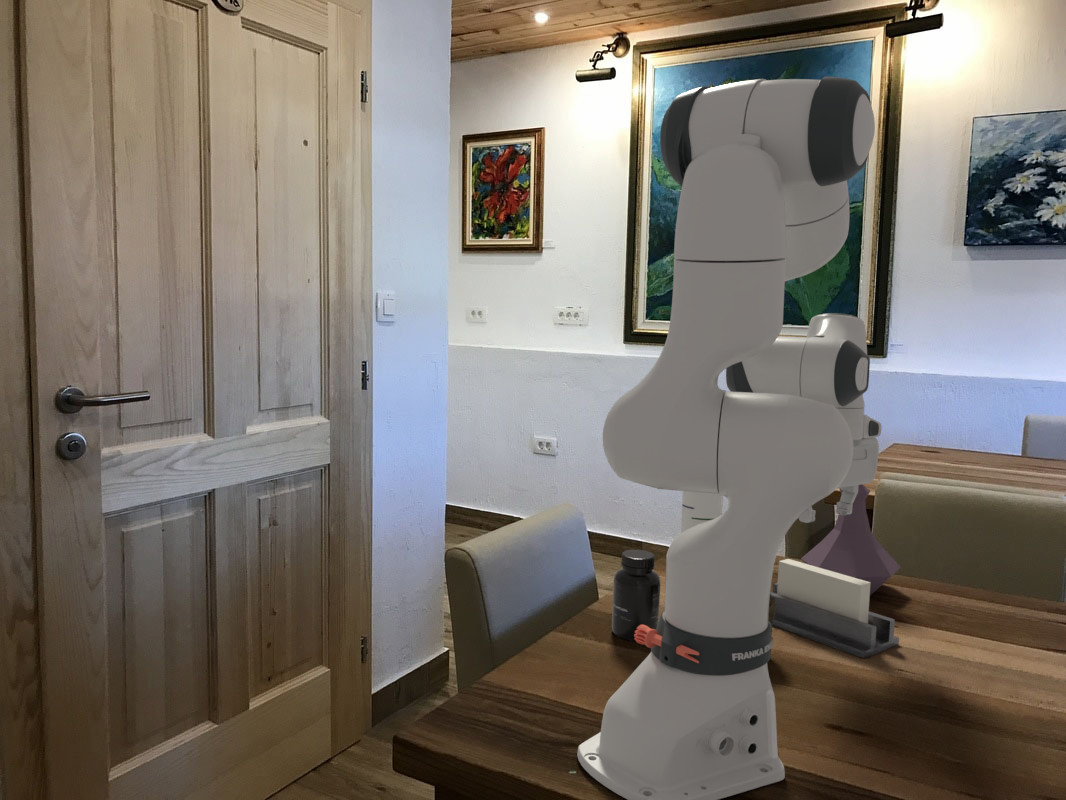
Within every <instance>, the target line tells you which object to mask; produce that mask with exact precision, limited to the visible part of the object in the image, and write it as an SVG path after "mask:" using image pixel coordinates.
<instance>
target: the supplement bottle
mask: <svg viewBox="0 0 1066 800" xmlns="http://www.w3.org/2000/svg"><path fill="white" fill-rule="evenodd" d="M655 557H656V556H655V554H654V553H652V552H650V551H648V550H642V549H629V550H624V551H623V552H622V553H621V560H620V566H621V568H620V569H618V570H617V571H616V572H615V574H614V577H613V588H612V589H613V592H612V593H613V594H612V608H611V609H612V612H611V614H612V615H611V630H612V632H613V634H614V635H615V636H616V637H618V638H621V639H623V640H627V641H633V642H636V640H635V639H634V638H636V637H634V635H635V634H636V633H635V631H636V630H638V629H637V627H638V626H640V625H646V626H648V627H649V628H650V629H655V630H656V628H657V625H658V622H659V619H660V602H661V601H660V599H661V597H660V596H661V578H660V575H659V574H658V573H657V572H656V571H655V570H654V569H655V566H656V564H655V559H656V558H655Z"/></svg>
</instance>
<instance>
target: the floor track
mask: <svg viewBox="0 0 1066 800" xmlns="http://www.w3.org/2000/svg"><path fill="white" fill-rule="evenodd" d="M777 586H778V582H775V583H773V584H772V591H770V593H771V595H772V598H773V597H775V603H776V601H777V604H776V609H775V615H774V620H773V626H772V627H776V628H779V629H782V630H785V631H787V632H790V633H793V634H795V635H798V636H800V637H804V638H806V639H809V640H812V641H814V642H817V643H820V644H823V645H826V646H828V647H831V648H834V649H836V650H839V651H843V653H844V652H845V653H848V654H850V655H853V656H856V657H859V658H861V659H863V660H864V659H867V658H869V657H871V656H874V655H876V654H878V653H881V652H883V651H886V650H887V649H890V648H892V647H895V646H897V645H899V644H900V643H899V641H900V637H899V636H897V635H894V634H895V623H896V621H895V619H894V618H891V617H887V616H885V615H882V614H879V613H875V612H873V611H870V610H869V613H868V624H867V623H864V622H861V621H858V620H855V619H852V618H849V617H846V616H843V615H840V614H837V613H834V612H831V611H827V610H824V609H821V608H818V607H815V606H812V605H809V604H806V603H803V602H800V601H797V600H794V599H791V598H788V597H785V596H782V595H779V594H777Z"/></svg>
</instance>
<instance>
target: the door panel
mask: <svg viewBox="0 0 1066 800" xmlns="http://www.w3.org/2000/svg"><path fill="white" fill-rule="evenodd" d="M777 567H778V569H777V583H778V586H777V594H779V595H782V596H785V597H788V598H791V599H794V600H797V601H800V602H803V603H806V604H809V605H812V606H815V607H818V608H821V609H824V610H827V611H831V612H834V613H837V614H840V615H843V616H846V617H849V618H852V619H855V620H858V621H861V622H864V623H867V624H868V613H869V611H870V598H871V597H870V596H871V595H870V582H868V581H864V580H861V579H857V578H854V577H850V576H847V575H843V574H840V573H836V572H833V571H829V570H826V569H822V568H819V567H815V566H812V565H808V564H805V563H804V562H801V561H798V560H794V559H790V558H786V559H782V560H778V566H777Z"/></svg>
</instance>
